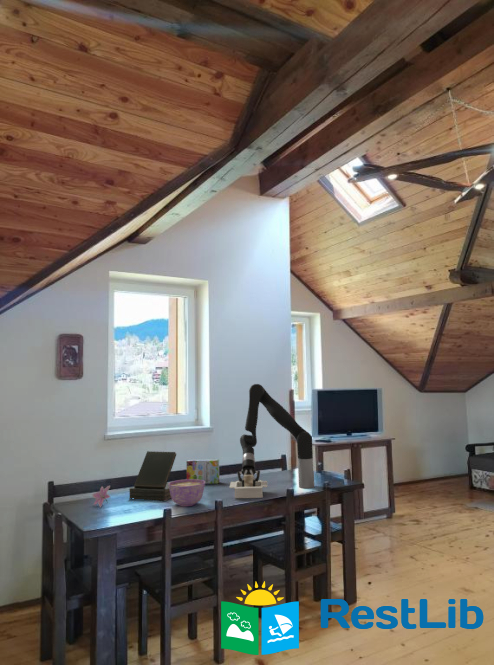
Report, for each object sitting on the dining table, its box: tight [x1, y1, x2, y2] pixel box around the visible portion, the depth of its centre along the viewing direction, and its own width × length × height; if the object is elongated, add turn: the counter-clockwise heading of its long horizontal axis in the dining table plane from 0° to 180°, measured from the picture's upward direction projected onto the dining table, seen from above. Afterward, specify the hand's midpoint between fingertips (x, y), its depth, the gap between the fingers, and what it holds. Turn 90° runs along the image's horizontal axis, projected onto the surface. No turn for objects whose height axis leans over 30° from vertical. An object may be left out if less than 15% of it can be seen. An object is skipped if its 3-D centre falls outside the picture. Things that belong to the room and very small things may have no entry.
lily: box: [91, 485, 111, 508], centre depth 263 cm, size 12×12×10 cm
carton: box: [229, 479, 268, 499], centre depth 276 cm, size 22×22×6 cm
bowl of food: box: [167, 478, 206, 507], centre depth 257 cm, size 20×20×12 cm
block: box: [244, 475, 253, 487], centre depth 276 cm, size 5×5×11 cm
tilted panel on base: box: [129, 450, 177, 502], centre depth 280 cm, size 23×20×25 cm
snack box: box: [186, 458, 220, 485], centre depth 314 cm, size 21×6×15 cm, turn 84°
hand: (248, 486), depth 274 cm, fingers closed on block, 5 cm apart
